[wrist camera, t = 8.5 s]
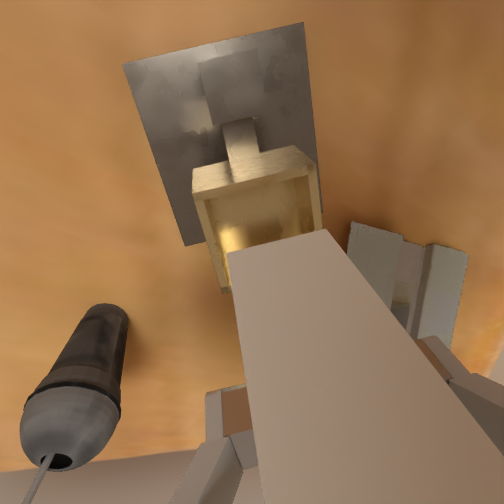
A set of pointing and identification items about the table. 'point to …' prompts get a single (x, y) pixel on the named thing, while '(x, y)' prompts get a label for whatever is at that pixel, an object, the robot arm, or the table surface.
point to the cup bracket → (234, 139)
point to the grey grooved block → (411, 279)
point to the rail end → (347, 389)
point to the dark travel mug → (77, 397)
